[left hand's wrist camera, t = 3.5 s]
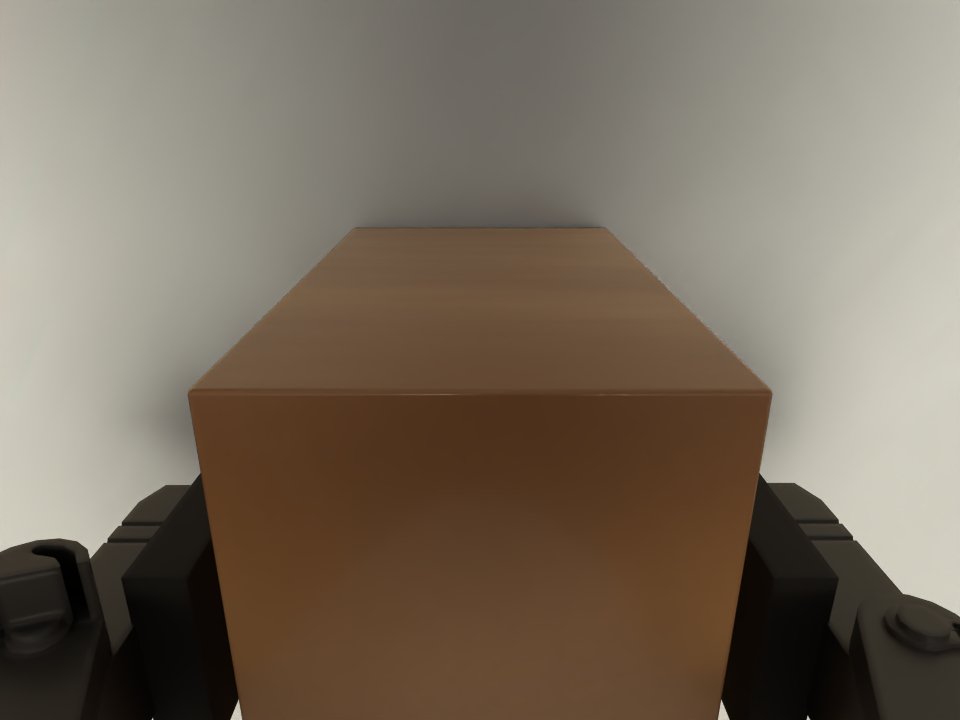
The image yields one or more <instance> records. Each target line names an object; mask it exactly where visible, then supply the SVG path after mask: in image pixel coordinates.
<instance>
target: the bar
mask: <svg viewBox="0 0 960 720" xmlns="http://www.w3.org/2000/svg"><path fill="white" fill-rule="evenodd" d="M188 399H189V405H190V411H191V417H192V423H193V429H194V435H195V441H196V447H197V453H198V459H199V464H200V470H201V476H202V482H203V488H204V494H205V500H206V506H207V512H208V518H209V524H210V530H211V536H212V542H213V548H214V554H215V560H216V566H217V572H218V578H219V584H220V590H221V596H222V601H223V607H224V613H225V619H226V625H227V631H228V637H229V643H230V649H231V655H232V661H233V667H234V673H235V679H236V685H237V691H238V697H239V703H240V709H241V715H242V720H718V715H719V709H720V703H721V697H722V691H723V685H724V679H725V673H726V667H727V661H728V656H729V650H730V644H731V638H732V632H733V626H734V620H735V614H736V608H737V602H738V596H739V590H740V584H741V578H742V572H743V566H744V560H745V554H746V548H747V542H748V536H749V530H750V525H751V519H752V513H753V507H754V501H755V495H756V489H757V483H758V477H759V471H760V465H761V459H762V453H763V447H764V441H765V435H766V429H767V423H768V417H769V411H770V405H771V399H772V391H771V389H770V388H769V387H768V386H767V385H766V384H765V383H764V382H763V381H762V380H761V379H760V378H759V377H758V376H756V375H755V374H754V373H753V372H752V371H751V370H750V369H749V368H748V367H747V366H746V365H745V364H744V363H743V362H742V361H741V360H740V359H739V358H738V357H737V356H736V355H735V354H734V353H733V352H732V351H731V350H730V349H729V348H728V347H727V346H726V345H725V344H724V343H723V342H722V341H721V340H720V339H719V338H718V337H717V336H716V335H715V334H713V333H712V332H711V331H710V330H709V329H708V328H707V327H706V326H705V325H704V324H703V323H702V322H701V321H700V320H699V319H698V318H697V317H696V316H695V315H694V314H693V313H692V312H691V311H690V310H689V309H688V308H687V307H686V306H685V305H684V304H683V303H682V302H681V301H680V300H679V299H678V298H677V297H676V296H675V295H674V294H673V293H672V292H670V291H669V290H668V289H667V288H666V287H665V286H664V285H663V284H662V283H661V282H660V281H659V280H658V279H657V278H656V277H655V276H654V275H653V274H652V273H651V272H650V271H649V270H648V269H647V268H646V267H645V266H644V265H643V264H642V263H641V262H640V261H639V260H638V259H637V258H636V257H635V256H634V255H633V254H632V253H631V252H630V251H629V250H628V249H626V248H625V247H624V246H623V245H622V244H621V243H620V242H619V241H618V240H617V239H616V238H615V237H614V236H613V235H612V234H611V233H610V232H609V231H608V230H607V229H606V228H354V229H353V230H352V231H351V232H350V233H349V234H348V235H347V236H346V237H345V238H344V239H343V240H342V241H341V242H340V243H339V244H338V245H337V246H336V247H335V248H334V249H333V250H332V251H331V252H329V253H328V254H327V255H326V256H325V257H324V258H323V259H322V260H321V261H320V262H319V263H318V264H317V265H316V266H315V267H314V268H313V269H312V270H311V271H310V272H309V273H308V274H307V275H306V276H305V277H304V278H303V279H302V280H301V281H300V282H299V283H298V284H297V285H296V286H295V287H294V288H293V289H292V290H291V291H290V292H289V293H288V294H286V295H285V296H284V297H283V298H282V299H281V300H280V301H279V302H278V303H277V304H276V305H275V306H274V307H273V308H272V309H271V310H270V311H269V312H268V313H267V314H266V315H265V316H264V317H263V318H262V319H261V320H260V321H259V322H258V323H257V324H256V325H255V326H254V327H253V328H252V329H251V330H250V331H249V332H248V333H247V334H246V335H245V336H244V337H242V338H241V339H240V340H239V341H238V342H237V343H236V344H235V345H234V346H233V347H232V348H231V349H230V350H229V351H228V352H227V353H226V354H225V355H224V356H223V357H222V358H221V359H220V360H219V361H218V362H217V363H216V364H215V365H214V366H213V367H212V368H211V369H210V370H209V371H208V372H207V373H206V374H205V375H204V376H203V377H202V378H201V379H200V380H198V381H197V382H196V383H195V384H194V385H193V386H192V387H191V388H190V389H189V391H188Z"/></svg>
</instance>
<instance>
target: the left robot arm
mask: <svg viewBox="0 0 960 720" xmlns="http://www.w3.org/2000/svg"><path fill="white" fill-rule="evenodd" d="M721 699H722V702H723V704H724V707H725V709H726V712H727V714H728V717H729V719H730V720H807V715H808V716H809V718H810V720H960V617H959V616H958V615H956V614H955V613H953V612H951V611H949V610H947V609H945V608H943V607H941V606H939V605H937V604H935V603H933V602H930V601H927V600H924V599H920V598H917V597H914V596H911V595H905V594H902V592H901V591H900V590H899V589H898V588H897V587H896V586H895V584H894V583H893V582H892V581H891V580H890V579H889V577H888V576H887V575H886V574H885V573H884V572H883V571H882V569H881V568H880V567H879V566H878V565H877V564H876V562H875V561H874V560H873V559H872V558H871V557H870V556H869V554H868V553H867V552H866V551H865V550H864V549H863V547H862V546H861V545H860V544H859V543H858V542H857V541H854V540H853V536H852V535H851V534H850V532H849V531H848V530H847V529H846V528H845V527H844V525H843V524H839V520H838V519H837V517H836V516H835V515H834V514H833V513H832V512H831V510H830V509H829V508H828V507H827V506H826V505H825V504H824V502H823V501H822V500H821V499H819V498H817V497H816V496H814V495H813V494H811V493H809V492H808V491H806V490H805V489H803V488H802V487H800V486H798V485H797V484H795V483H767V482H766V481H765V480H764V478H763V477H762V476H761V475H760V473H759V477H758V483H757V489H756V495H755V501H754V507H753V513H752V519H751V525H750V530H749V536H748V542H747V548H746V554H745V560H744V566H743V572H742V578H741V584H740V590H739V596H738V602H737V608H736V614H735V620H734V626H733V632H732V638H731V644H730V650H729V656H728V661H727V667H726V673H725V679H724V685H723V691H722V697H721ZM238 700H239V697H238V691H237V685H236V679H235V673H234V667H233V661H232V655H231V649H230V643H229V637H228V631H227V625H226V619H225V613H224V607H223V601H222V596H221V590H220V584H219V578H218V572H217V566H216V560H215V554H214V548H213V542H212V536H211V530H210V524H209V518H208V512H207V506H206V500H205V494H204V488H203V482H202V476H201V473H200V475H199V476H198V477H197V478H196V480H195V481H194V482H193V484H192V485H166V486H164V487H162V488H161V489H159V490H158V491H156V492H154V493H153V494H151V495H150V496H148V497H147V498H145V499H143V500H142V501H140V502H139V503H138V504H137V505H136V506H135V507H134V509H133V510H132V511H131V512H130V513H129V514H128V516H127V517H126V518H125V519H124V520H123V521H122V526H118V527H117V528H116V530H115V531H114V532H113V533H112V534H111V535H110V537H109V538H108V542H107V543H104V544H103V545H102V546H101V547H100V548H99V549H98V551H97V552H96V553H95V554H94V555H93V556H92V558H91V559H90V558H89V554H88V550H87V549H86V548H85V547H84V546H82V545H81V544H80V543H78V542H77V541H71V540H65V539H48V540H36V541H33V542H29V543H25V544H21V545H18V546H14V547H11V548H8V549H6V550H4V551H2V552H0V720H152V718H153V720H230V719H231V717H232V714H233V712H234V709H235V707H236V704H237V702H238Z"/></svg>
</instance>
